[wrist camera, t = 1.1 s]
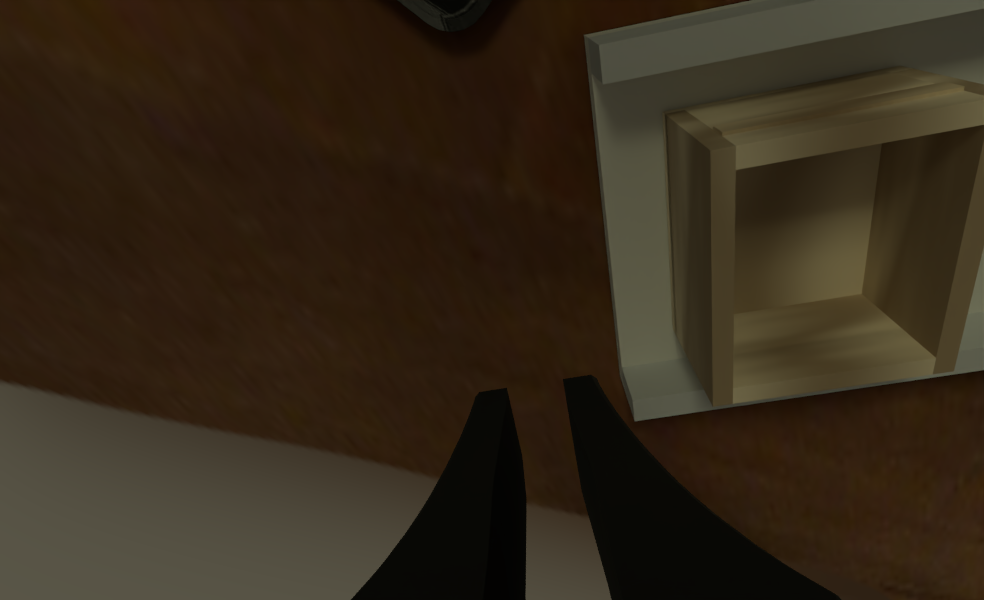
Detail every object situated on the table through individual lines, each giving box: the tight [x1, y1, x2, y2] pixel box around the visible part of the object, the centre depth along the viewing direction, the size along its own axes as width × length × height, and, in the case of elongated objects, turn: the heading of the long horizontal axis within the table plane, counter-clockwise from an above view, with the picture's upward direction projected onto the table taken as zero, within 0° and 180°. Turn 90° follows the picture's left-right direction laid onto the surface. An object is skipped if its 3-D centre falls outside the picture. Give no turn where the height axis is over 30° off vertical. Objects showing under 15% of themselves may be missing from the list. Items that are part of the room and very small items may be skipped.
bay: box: [584, 0, 984, 421], centre depth 17 cm, size 17×13×7 cm
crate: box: [662, 66, 984, 407], centre depth 18 cm, size 7×8×4 cm
